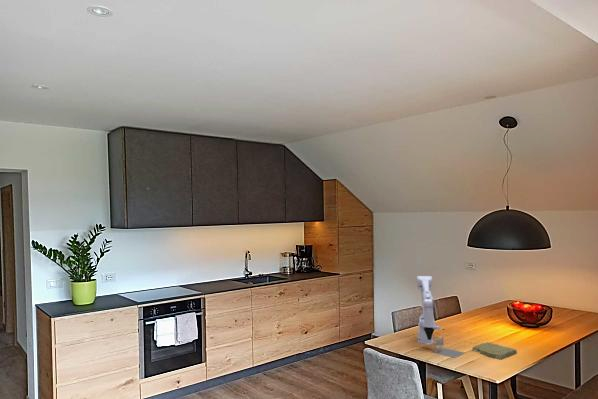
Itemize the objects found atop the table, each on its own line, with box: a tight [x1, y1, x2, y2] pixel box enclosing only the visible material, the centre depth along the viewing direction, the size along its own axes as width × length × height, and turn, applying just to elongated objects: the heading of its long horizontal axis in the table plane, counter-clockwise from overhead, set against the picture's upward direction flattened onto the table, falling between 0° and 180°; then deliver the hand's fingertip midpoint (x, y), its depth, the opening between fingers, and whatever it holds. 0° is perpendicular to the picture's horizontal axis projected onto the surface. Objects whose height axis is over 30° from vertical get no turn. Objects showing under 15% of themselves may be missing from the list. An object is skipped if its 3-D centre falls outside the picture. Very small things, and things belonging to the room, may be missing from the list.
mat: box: [430, 347, 465, 359], centre depth 275 cm, size 16×13×1 cm
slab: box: [433, 336, 445, 353], centre depth 279 cm, size 2×7×8 cm, turn 134°
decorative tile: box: [471, 341, 518, 361], centre depth 274 cm, size 19×20×4 cm
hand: (429, 339), depth 283 cm, fingers closed
